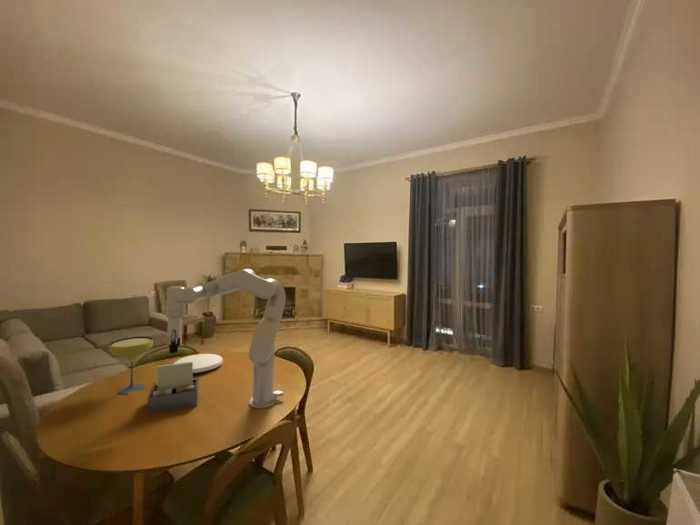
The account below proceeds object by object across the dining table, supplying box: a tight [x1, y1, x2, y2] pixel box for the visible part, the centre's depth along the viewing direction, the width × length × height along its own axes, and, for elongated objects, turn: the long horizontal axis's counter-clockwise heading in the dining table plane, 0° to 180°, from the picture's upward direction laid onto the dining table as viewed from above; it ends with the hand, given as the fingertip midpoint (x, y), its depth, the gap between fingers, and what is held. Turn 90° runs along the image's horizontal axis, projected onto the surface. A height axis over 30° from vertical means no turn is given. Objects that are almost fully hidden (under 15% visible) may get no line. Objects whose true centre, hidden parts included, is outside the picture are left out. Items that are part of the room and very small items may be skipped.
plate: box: [173, 353, 224, 374], centre depth 178 cm, size 28×6×27 cm
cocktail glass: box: [108, 336, 154, 395], centre depth 148 cm, size 18×18×25 cm
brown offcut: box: [153, 388, 172, 397], centre depth 129 cm, size 7×3×8 cm, turn 115°
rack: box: [147, 376, 200, 416], centre depth 134 cm, size 19×14×9 cm
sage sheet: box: [157, 362, 194, 390], centre depth 135 cm, size 14×1×18 cm, turn 115°
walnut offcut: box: [176, 385, 194, 393], centre depth 133 cm, size 7×3×8 cm, turn 116°
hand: (174, 349), depth 134 cm, fingers open, 9 cm apart
